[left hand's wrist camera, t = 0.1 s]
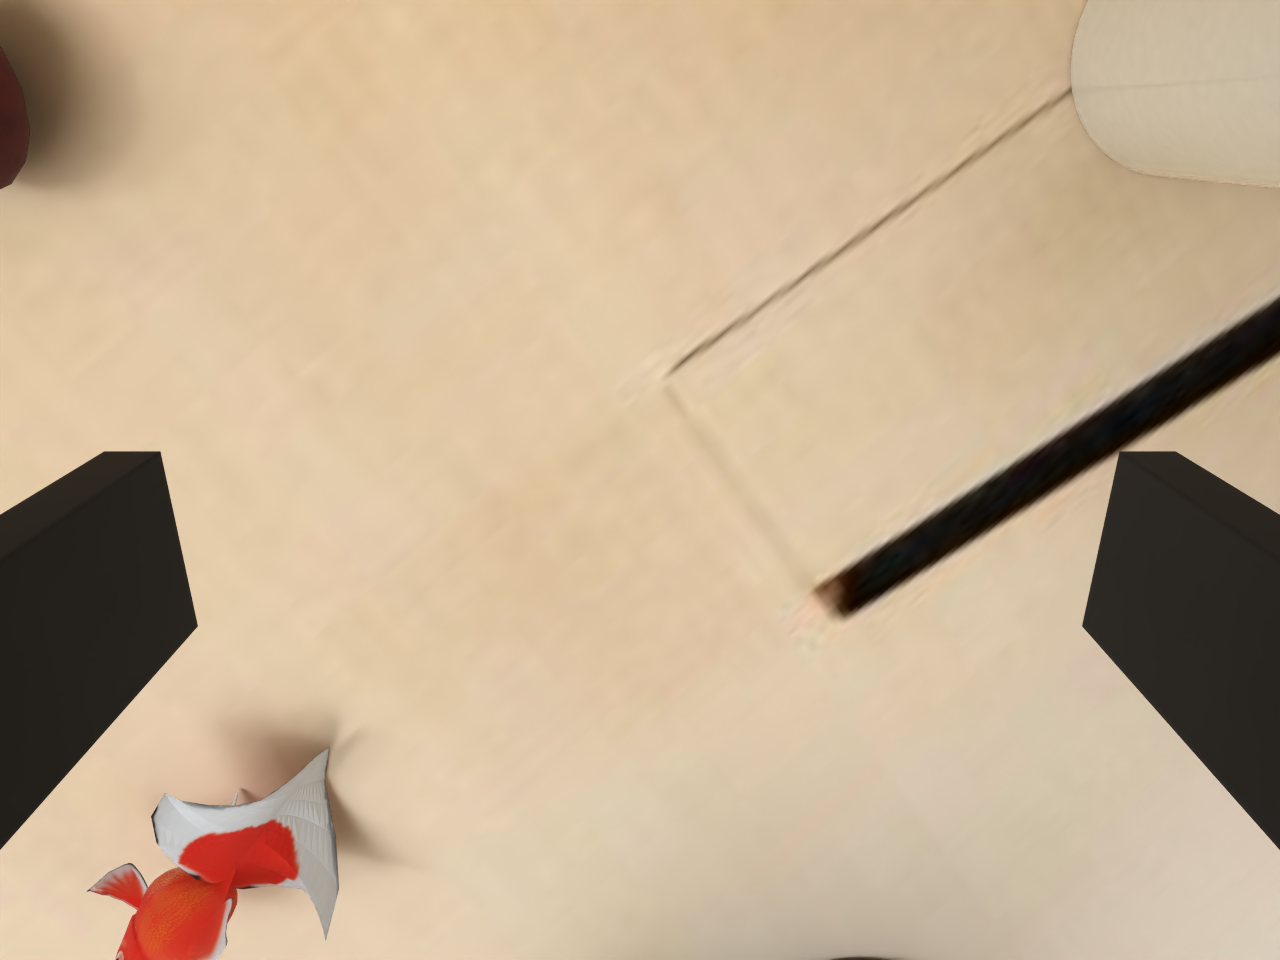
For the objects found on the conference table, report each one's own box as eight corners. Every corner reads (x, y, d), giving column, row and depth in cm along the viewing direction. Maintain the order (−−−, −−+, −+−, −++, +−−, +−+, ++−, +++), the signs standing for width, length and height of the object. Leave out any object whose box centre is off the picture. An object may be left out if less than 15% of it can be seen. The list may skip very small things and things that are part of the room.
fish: (-3, 854, 45) (-9, 1024, 37) (262, 652, 48) (306, 770, 40) (150, 933, 51) (172, 1091, 44) (373, 751, 55) (429, 868, 47)
